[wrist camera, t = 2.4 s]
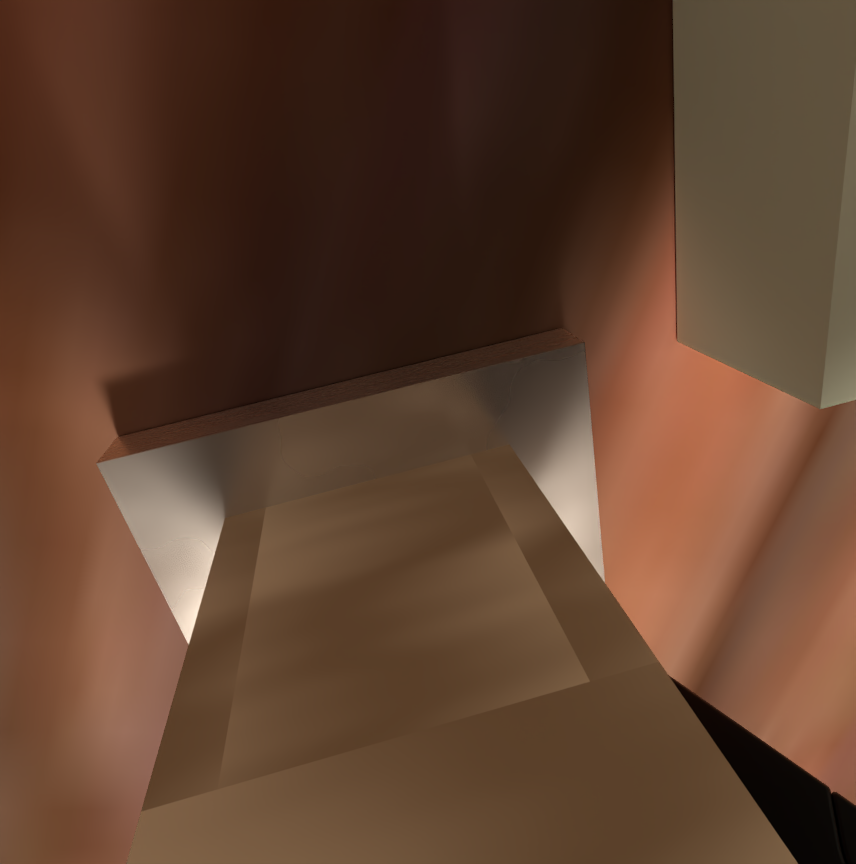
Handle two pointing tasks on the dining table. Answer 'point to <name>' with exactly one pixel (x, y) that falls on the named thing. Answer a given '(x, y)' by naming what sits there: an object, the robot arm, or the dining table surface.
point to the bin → (768, 190)
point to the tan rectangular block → (431, 695)
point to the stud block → (357, 450)
